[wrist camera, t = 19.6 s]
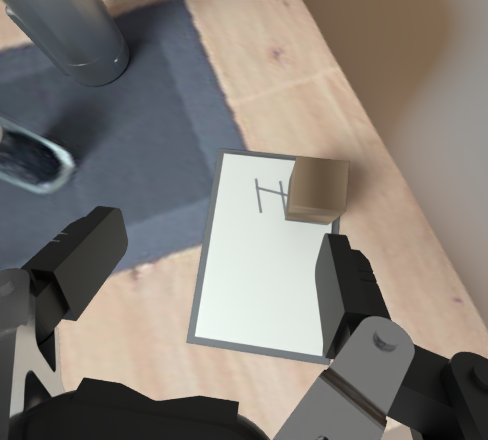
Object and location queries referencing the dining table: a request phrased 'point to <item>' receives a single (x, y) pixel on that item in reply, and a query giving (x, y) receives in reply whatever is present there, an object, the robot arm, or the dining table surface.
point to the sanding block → (317, 190)
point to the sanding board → (257, 264)
